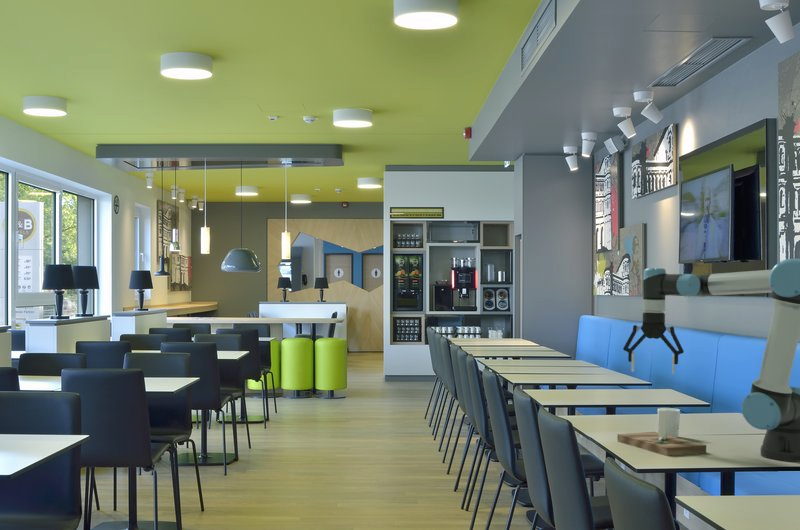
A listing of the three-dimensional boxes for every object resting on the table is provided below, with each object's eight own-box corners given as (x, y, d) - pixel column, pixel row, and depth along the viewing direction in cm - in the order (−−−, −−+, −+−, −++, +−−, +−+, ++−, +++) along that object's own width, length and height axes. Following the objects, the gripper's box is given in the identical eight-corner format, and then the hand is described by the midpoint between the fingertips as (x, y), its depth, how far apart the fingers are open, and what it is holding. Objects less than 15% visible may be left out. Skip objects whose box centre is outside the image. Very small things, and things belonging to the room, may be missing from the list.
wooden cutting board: (706, 452, 275) (706, 444, 275) (667, 455, 269) (667, 447, 269) (654, 438, 299) (654, 431, 299) (617, 441, 293) (617, 433, 293)
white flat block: (667, 436, 287) (667, 409, 287) (662, 442, 277) (662, 413, 277) (660, 436, 288) (661, 408, 288) (655, 441, 278) (656, 412, 278)
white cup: (681, 439, 299) (681, 411, 300) (658, 438, 301) (658, 410, 301) (678, 435, 307) (678, 408, 307) (656, 434, 309) (656, 407, 309)
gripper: (691, 312, 292) (690, 373, 292) (618, 310, 301) (617, 369, 301) (690, 313, 285) (689, 375, 285) (616, 311, 294) (615, 371, 294)
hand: (652, 372), depth 293 cm, fingers open, 13 cm apart
